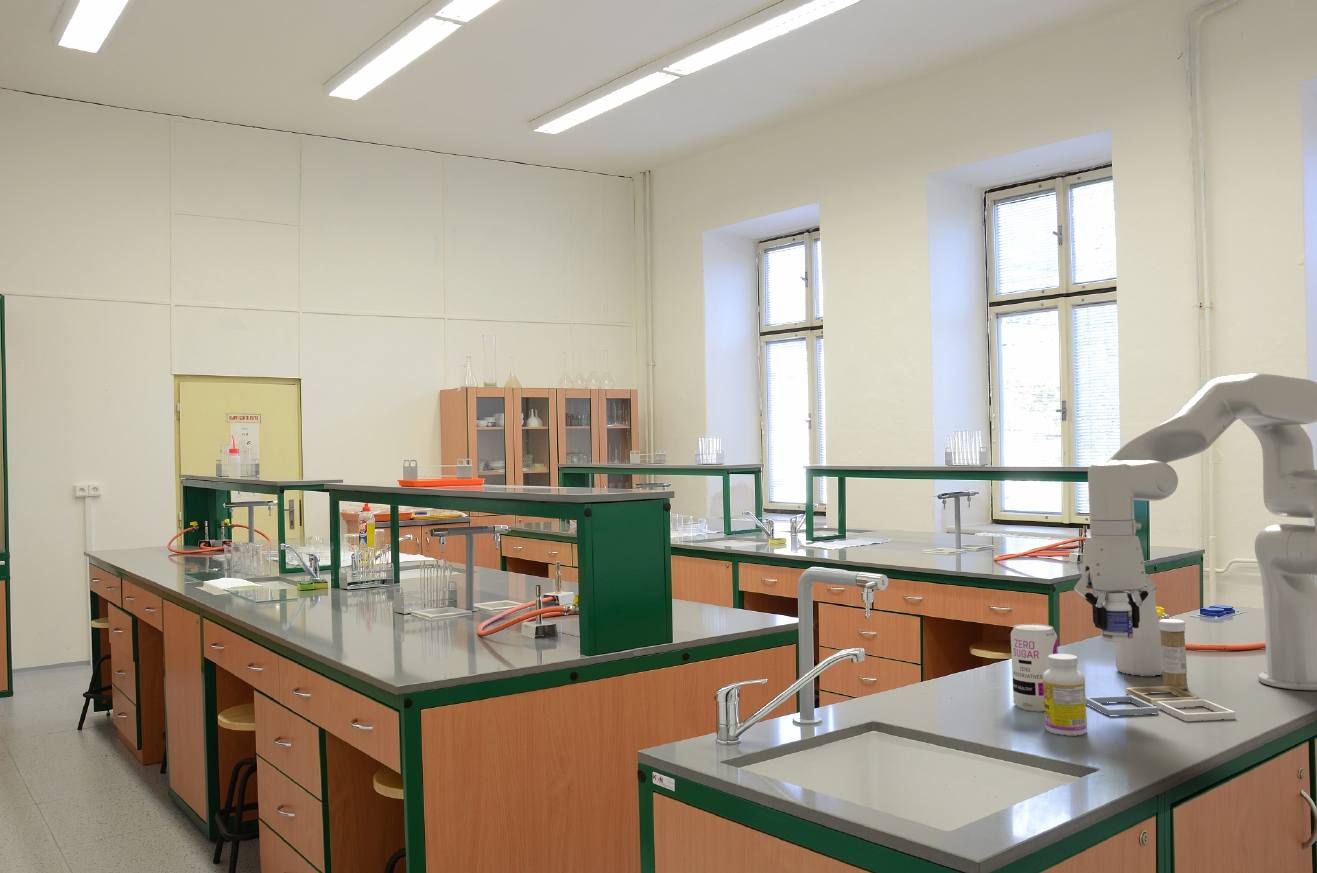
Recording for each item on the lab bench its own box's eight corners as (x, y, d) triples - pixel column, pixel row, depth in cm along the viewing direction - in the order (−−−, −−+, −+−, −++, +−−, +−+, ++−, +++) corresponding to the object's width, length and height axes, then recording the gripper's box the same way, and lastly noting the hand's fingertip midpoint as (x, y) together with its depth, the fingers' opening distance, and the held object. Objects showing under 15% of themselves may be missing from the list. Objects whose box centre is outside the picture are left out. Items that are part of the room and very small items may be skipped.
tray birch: (1171, 692, 187) (1171, 686, 187) (1199, 703, 178) (1199, 697, 178) (1126, 694, 187) (1126, 688, 187) (1152, 706, 178) (1151, 699, 178)
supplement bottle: (1048, 724, 169) (1045, 651, 169) (1089, 728, 165) (1086, 654, 166) (1042, 734, 163) (1039, 658, 163) (1084, 739, 159) (1081, 661, 160)
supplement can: (1058, 702, 183) (1055, 623, 183) (1061, 714, 175) (1058, 631, 175) (1013, 700, 185) (1009, 622, 186) (1014, 711, 178) (1010, 630, 178)
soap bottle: (1117, 676, 202) (1112, 567, 202) (1114, 666, 211) (1109, 562, 211) (1170, 678, 198) (1164, 568, 199) (1164, 668, 207) (1159, 562, 208)
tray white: (1204, 705, 177) (1203, 699, 177) (1235, 719, 168) (1235, 712, 168) (1156, 708, 176) (1156, 701, 177) (1185, 721, 168) (1185, 714, 168)
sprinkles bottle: (1173, 684, 193) (1170, 617, 194) (1193, 689, 189) (1190, 620, 189) (1156, 687, 192) (1153, 619, 192) (1176, 691, 188) (1172, 623, 188)
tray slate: (1131, 701, 181) (1131, 695, 181) (1158, 714, 172) (1158, 707, 172) (1085, 704, 181) (1084, 697, 181) (1109, 716, 172) (1109, 710, 172)
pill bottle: (1136, 643, 174) (1134, 594, 174) (1105, 642, 175) (1103, 594, 175) (1128, 637, 179) (1126, 590, 179) (1098, 637, 180) (1096, 590, 180)
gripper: (1146, 526, 182) (1150, 622, 181) (1057, 529, 181) (1061, 626, 180) (1169, 529, 174) (1173, 629, 174) (1076, 532, 173) (1081, 633, 173)
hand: (1116, 626), depth 177 cm, fingers closed on pill bottle, 5 cm apart
